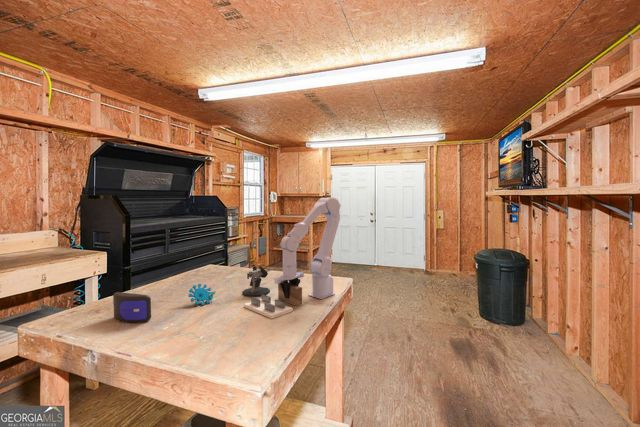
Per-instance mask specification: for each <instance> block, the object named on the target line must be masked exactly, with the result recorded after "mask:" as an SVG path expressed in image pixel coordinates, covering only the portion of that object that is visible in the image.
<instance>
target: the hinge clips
mask: <svg viewBox="0 0 640 427" xmlns="http://www.w3.org/2000/svg"><path fill="white" fill-rule="evenodd" d="M259 299H261V301H263V302H266V303H264V309H265V310H268V311H270V312H275V306H277V307H279V308H282V309H284V308H285V305H286V302H284V301H282V300H279V299H278V298H275V299H274V302H275V305H272V304H270V303H271V299H272V296H269V295H264V294H263V295H261V298H257V297H250V302H251V304H253V305H255V306H258V307H259V306H260V300H259Z"/></svg>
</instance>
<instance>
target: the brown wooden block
mask: <svg viewBox="0 0 640 427" xmlns="http://www.w3.org/2000/svg"><path fill="white" fill-rule="evenodd" d="M277 290H278V298H277V299H278V300H281V301H284V302H285V303H287V304H291V305H294V306H297V307H299V306H300V305H303V287H302V286H299V285H298V286H296V285H292V284H291V286H290V294H289V299H287V298H285V297H284V293H283V290H282V288H281V286H280V284H277Z"/></svg>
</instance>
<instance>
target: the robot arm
mask: <svg viewBox="0 0 640 427" xmlns="http://www.w3.org/2000/svg"><path fill="white" fill-rule="evenodd" d="M341 206H342V205H341V203H340V202H339V200H338V199H337V198H336V197H333V196H332V197H321V198H319V199H318V200H317V201H316V202H314V206H313V207H312V209H310V211H309V212H308V214H307V215H306V216H305V218H304V219H303V220H302V221H300V222H297V223H295V224H293V226H294V227H293V228H292V229H291V230H290V232H287V234H286V236H283V237H282V239H281V242H280V243H279V246H280V248H281V249H282V274H281V275H280V276H277V277H274V284H276V285H278V284H280V286H281V288H282V290H283V293H284V297H285V298H287V299H289V294H290V286H291V284H292V285H296V286H299V285H300V284H301V279H300V278H304V277H305V273H304V272H302V271H300V272H297V249H299V246H300V242H301V241H302V239H303V238H304V237H305V236H306V235H307V234H308V233H309V227H310V226H311V225H312V224H313V222H315V221H316V219H317V218H319V216H320V215H324V216H325V218H326V222H325V225H324V226H325V227H324V231H323V234H322V236H321V240H320V244H319V248H318V251H317V253H316V254H315V255H314V256H313V258H312V260H311V261H310V263H309V268H308V269H309V270H310V272H311V277H312V278H311V280H312V282H311V284H312V288H311V290H312V293H309V294H307V295H308V296H309V297H312V298H316V299H319V300H322V299H326V298H329V297H331V296H333V295H335V292H334V279H333V276H332V275H331V272H332V263H333V261H332V258H331V252H332V249H333V245H334V241H335V238H336V234H337V231H338V227H339V224H340V220H341V214H340V213H341V212H340V209H341Z"/></svg>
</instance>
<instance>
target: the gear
mask: <svg viewBox="0 0 640 427" xmlns="http://www.w3.org/2000/svg"><path fill="white" fill-rule="evenodd" d="M197 287H198V288H197ZM188 292H189V293H188V298H190V302H191V303H193V302H195V303H194V304H195V305H196V306H198V305H201V306H205V302H206V304H207V305H208V304H210V303H211V301H212V300H213V299H214V295H215V294H216V293H217V291H216V290H213V291H212V288H211V287H208V285H207V284H204V285H203V287H202V283H198V284H197V285H196V284H193V285H192V287H191V288H190V289H188ZM200 302H201V303H200Z"/></svg>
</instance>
